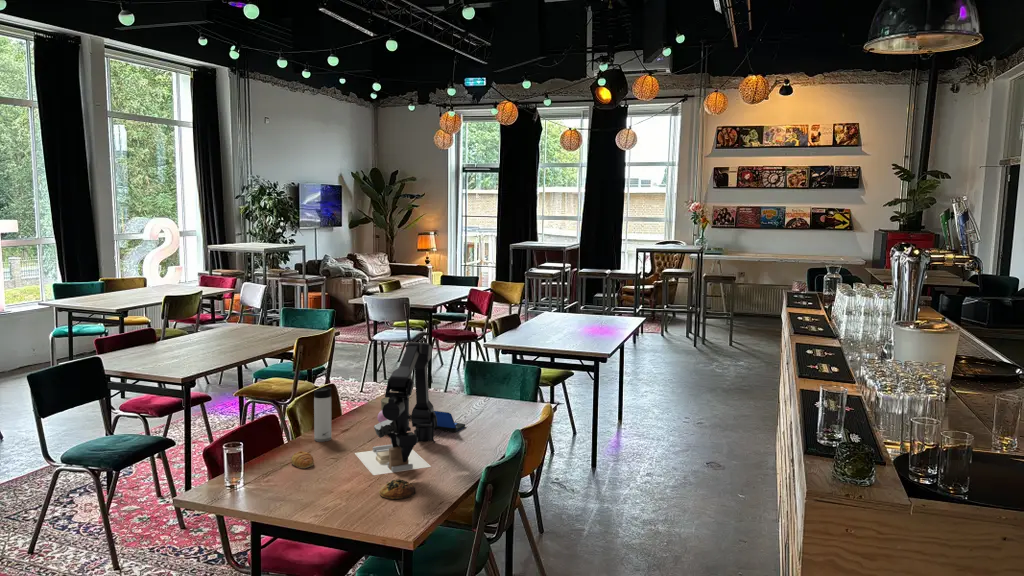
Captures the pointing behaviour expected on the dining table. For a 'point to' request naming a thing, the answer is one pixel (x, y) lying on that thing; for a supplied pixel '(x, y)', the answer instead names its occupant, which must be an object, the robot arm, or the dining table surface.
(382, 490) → the bread roll
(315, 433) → the travel mug
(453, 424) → the handheld game console
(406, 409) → the robot arm
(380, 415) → the cupcake
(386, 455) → the offcut stack
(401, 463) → the walnut panel
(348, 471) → the dining table surface
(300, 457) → the pastry
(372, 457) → the rack
